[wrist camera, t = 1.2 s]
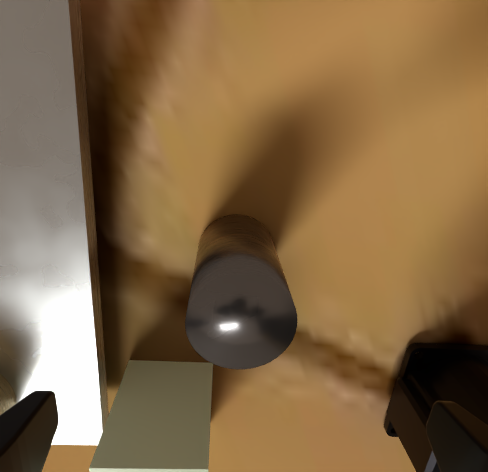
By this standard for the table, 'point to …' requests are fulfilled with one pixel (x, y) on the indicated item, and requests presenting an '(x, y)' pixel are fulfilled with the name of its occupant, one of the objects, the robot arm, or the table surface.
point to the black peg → (239, 296)
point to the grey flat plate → (49, 219)
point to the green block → (158, 419)
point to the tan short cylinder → (6, 395)
